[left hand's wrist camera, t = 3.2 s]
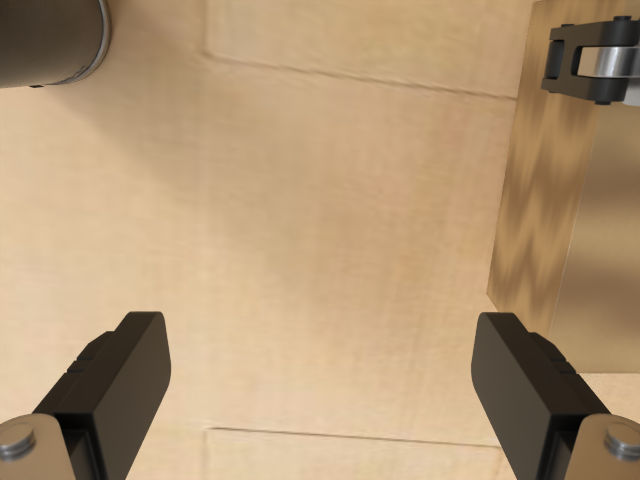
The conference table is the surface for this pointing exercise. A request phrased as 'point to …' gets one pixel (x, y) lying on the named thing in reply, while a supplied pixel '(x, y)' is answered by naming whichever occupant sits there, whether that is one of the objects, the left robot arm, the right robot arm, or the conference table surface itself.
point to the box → (572, 209)
